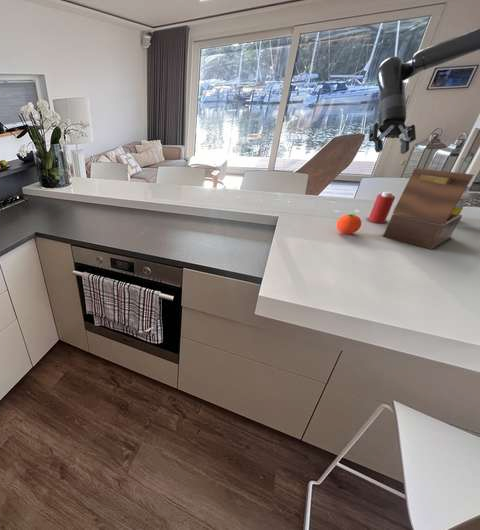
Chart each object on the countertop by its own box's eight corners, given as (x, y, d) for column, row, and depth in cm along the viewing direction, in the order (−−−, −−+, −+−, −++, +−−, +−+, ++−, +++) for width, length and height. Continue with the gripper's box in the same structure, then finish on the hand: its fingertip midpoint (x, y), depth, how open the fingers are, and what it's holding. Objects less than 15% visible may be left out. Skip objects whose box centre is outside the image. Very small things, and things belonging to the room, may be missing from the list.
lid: (415, 168, 89) (409, 167, 87) (474, 174, 79) (468, 174, 77) (393, 213, 95) (386, 214, 93) (444, 224, 85) (439, 225, 83)
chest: (402, 226, 104) (411, 205, 100) (450, 237, 94) (462, 215, 90) (383, 235, 99) (392, 214, 95) (431, 249, 89) (443, 226, 85)
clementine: (334, 226, 108) (340, 208, 104) (357, 230, 104) (364, 211, 101) (333, 235, 102) (339, 216, 99) (357, 238, 99) (364, 219, 95)
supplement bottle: (429, 214, 111) (445, 181, 104) (453, 217, 107) (472, 182, 101) (432, 220, 106) (449, 186, 100) (457, 223, 102) (477, 187, 96)
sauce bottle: (372, 217, 113) (383, 189, 107) (387, 220, 109) (399, 192, 103) (365, 220, 111) (376, 192, 105) (380, 224, 107) (392, 195, 101)
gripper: (379, 103, 104) (379, 145, 102) (422, 105, 102) (422, 147, 101) (364, 116, 111) (363, 156, 110) (403, 118, 110) (403, 158, 108)
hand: (391, 152), depth 105 cm, fingers open, 8 cm apart
